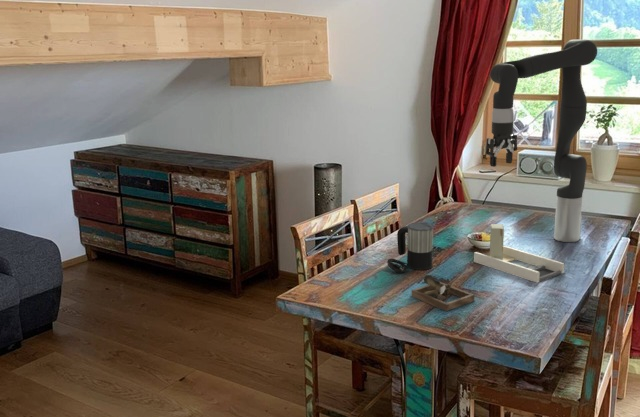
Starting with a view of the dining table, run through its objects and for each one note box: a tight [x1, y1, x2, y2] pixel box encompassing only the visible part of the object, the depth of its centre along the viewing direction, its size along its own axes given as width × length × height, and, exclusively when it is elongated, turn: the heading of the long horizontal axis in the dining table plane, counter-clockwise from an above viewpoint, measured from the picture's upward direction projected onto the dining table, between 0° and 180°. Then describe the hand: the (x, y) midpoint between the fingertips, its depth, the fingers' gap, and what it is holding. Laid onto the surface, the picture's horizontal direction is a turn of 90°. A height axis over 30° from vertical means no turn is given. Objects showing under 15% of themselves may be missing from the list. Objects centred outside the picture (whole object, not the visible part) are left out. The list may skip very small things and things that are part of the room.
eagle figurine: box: [423, 274, 453, 300], centre depth 210 cm, size 8×7×9 cm
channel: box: [473, 244, 565, 283], centre depth 235 cm, size 14×27×4 cm, turn 35°
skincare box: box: [489, 223, 505, 260], centre depth 241 cm, size 6×4×12 cm
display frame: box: [411, 281, 475, 312], centre depth 210 cm, size 12×15×2 cm
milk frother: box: [386, 221, 435, 273], centre depth 236 cm, size 14×16×15 cm
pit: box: [532, 265, 562, 283], centre depth 227 cm, size 11×7×1 cm, turn 125°
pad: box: [503, 255, 515, 263], centre depth 242 cm, size 11×8×1 cm
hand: (501, 164), depth 248 cm, fingers open, 8 cm apart
